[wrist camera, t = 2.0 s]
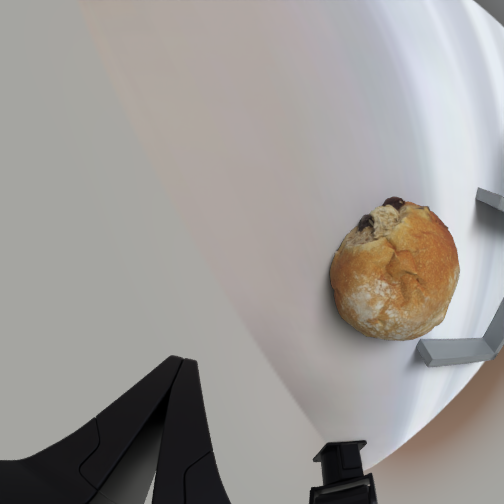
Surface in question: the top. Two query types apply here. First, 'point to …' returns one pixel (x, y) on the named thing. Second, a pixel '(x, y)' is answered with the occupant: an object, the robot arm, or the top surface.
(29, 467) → the robot arm
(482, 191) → the grey u-shaped frame
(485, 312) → the top surface
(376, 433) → the top surface
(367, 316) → the bread roll
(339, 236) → the top surface
